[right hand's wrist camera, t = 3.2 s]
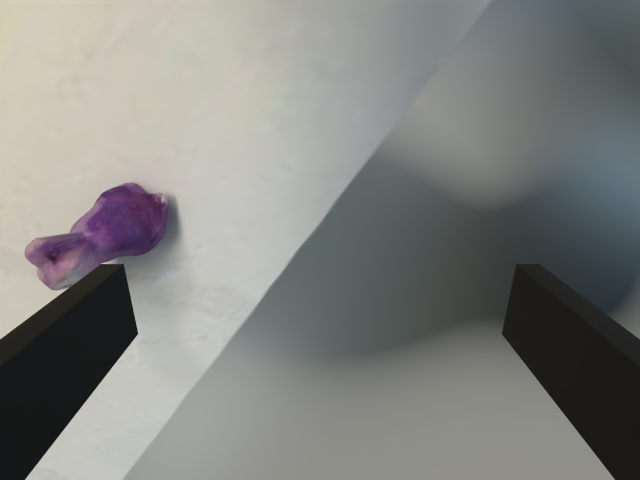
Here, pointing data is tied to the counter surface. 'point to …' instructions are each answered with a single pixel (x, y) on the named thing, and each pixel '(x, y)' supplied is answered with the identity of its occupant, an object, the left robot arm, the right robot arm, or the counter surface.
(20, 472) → the right robot arm
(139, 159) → the counter surface
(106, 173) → the counter surface
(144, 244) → the figurine
